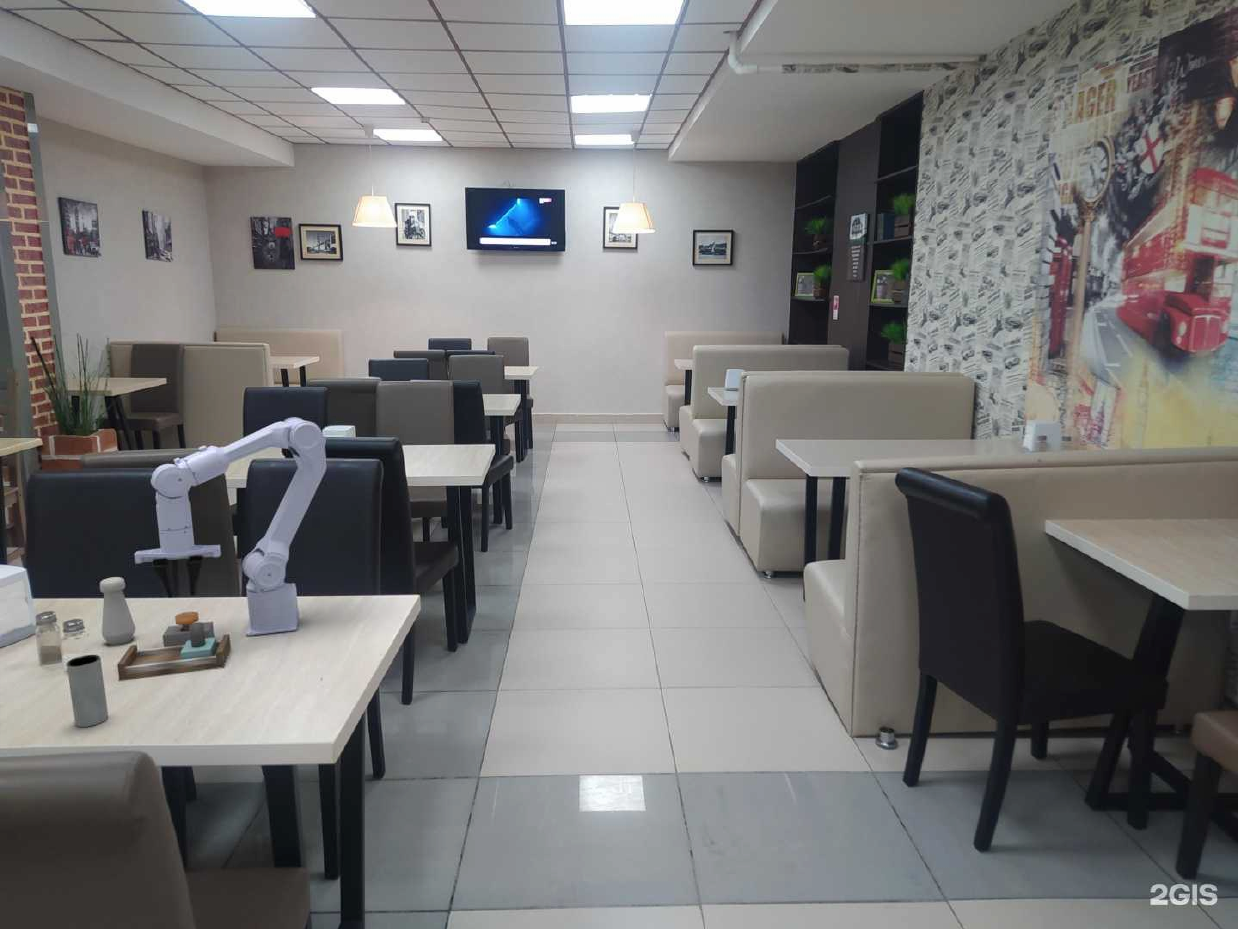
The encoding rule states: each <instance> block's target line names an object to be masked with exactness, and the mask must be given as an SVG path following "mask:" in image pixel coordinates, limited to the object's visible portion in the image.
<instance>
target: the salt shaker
mask: <svg viewBox="0 0 1238 929" xmlns="http://www.w3.org/2000/svg"><path fill="white" fill-rule="evenodd" d="M124 589H126V583H125V580H124V578H123V577H119V576H114V577H113V576H112V577H108V578H105V579H103V580H101V581H100V582H99V590H100V591H99V592H101V593H102V594H103V606H102V609H103V610H102V623H101V635H102V637H103V639H104V640H105V642H106V643H107V645H110V646H111V645H112V646H119V645H125V644H127V643H128V642H130V641H132V640H133V637H134V635H135V632H136V625H135V623H134V619H133V616H132V614H131V612H130V608H129V606H128V603H127V600H126V598H125V594H124V592H123V590H124Z"/></svg>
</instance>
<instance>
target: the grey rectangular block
mask: <svg viewBox="0 0 1238 929" xmlns="http://www.w3.org/2000/svg"><path fill="white" fill-rule="evenodd" d="M202 623H203V625H204V633H205V639H206V638H215V627H214V621H207V622H206V621H205V622H202ZM162 640H163V641H162V642H163V647H170V646H179V645H185V644H186V642H187V641H189V640H191V639H190V630H189V631H184V630H183V625H177V624H176V625H170V626H167V628H166V629H165V631H164V633H163V635H162Z"/></svg>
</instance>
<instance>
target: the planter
mask: <svg viewBox="0 0 1238 929" xmlns="http://www.w3.org/2000/svg"><path fill="white" fill-rule="evenodd" d="M66 672H67V678H68V683H69V684H68V685H69V690H70V699H71V704H72V705H71V706H72V711H73V718H74V724H75V726H76V727H80V728H87V727H93V725H94V726H96V725H99V724H102V723H104V722H105V721H106V720H108V718H109V711H108V710H109V709H108V704H107V702H108V701H107V696H106V689H105V683H104V682H105V680H104V674H103V667H102V659H101V656H100V655H98V654H86V655H81V656H77V657H75V658H72V659H71V660H68V661H67V662H66Z"/></svg>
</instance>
